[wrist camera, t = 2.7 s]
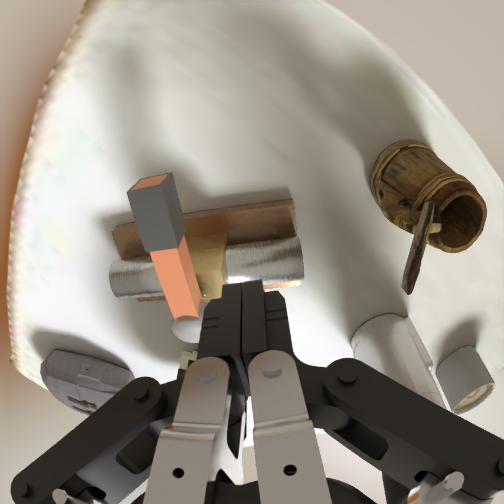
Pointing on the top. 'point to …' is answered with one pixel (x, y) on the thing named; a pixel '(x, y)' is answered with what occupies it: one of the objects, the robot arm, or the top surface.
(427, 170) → the wooden mug
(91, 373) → the small grey backpack
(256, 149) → the top surface
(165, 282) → the valve lever
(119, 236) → the stand
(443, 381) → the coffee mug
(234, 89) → the top surface
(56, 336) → the top surface
